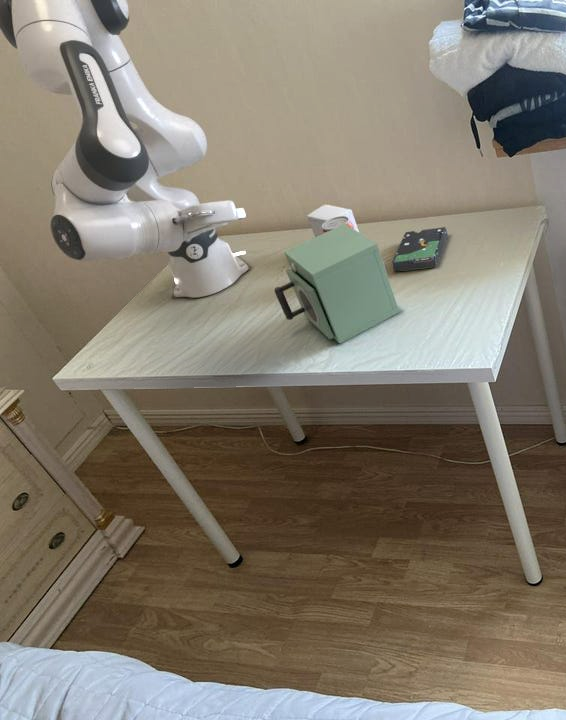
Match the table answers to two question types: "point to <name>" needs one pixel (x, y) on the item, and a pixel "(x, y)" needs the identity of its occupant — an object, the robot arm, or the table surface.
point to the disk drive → (420, 249)
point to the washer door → (304, 303)
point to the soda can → (336, 223)
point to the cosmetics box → (328, 217)
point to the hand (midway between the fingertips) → (227, 218)
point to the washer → (345, 280)
